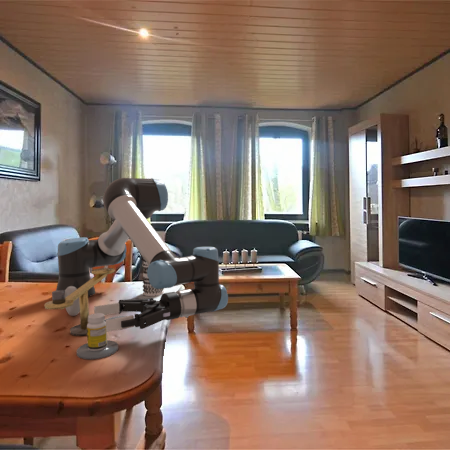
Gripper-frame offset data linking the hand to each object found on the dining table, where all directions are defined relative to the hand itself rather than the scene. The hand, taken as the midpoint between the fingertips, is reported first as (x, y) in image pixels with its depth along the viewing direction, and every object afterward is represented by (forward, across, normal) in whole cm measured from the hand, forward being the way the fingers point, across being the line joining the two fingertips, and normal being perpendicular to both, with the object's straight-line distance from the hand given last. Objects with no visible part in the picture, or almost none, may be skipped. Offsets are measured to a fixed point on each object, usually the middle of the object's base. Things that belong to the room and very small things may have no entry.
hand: (100, 318), depth 90 cm
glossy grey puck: (-9, +18, -8) cm, 22 cm away
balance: (+1, +17, -8) cm, 19 cm away
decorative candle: (-31, +47, -8) cm, 57 cm away
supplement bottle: (+1, 0, -8) cm, 8 cm away
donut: (+2, +35, -8) cm, 36 cm away
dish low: (+1, 0, -8) cm, 8 cm away
